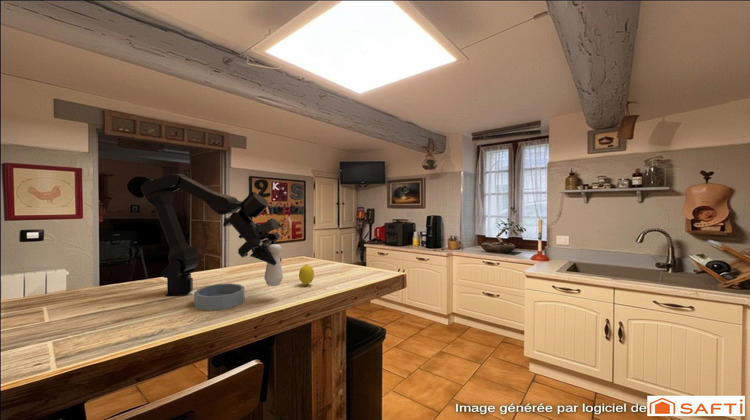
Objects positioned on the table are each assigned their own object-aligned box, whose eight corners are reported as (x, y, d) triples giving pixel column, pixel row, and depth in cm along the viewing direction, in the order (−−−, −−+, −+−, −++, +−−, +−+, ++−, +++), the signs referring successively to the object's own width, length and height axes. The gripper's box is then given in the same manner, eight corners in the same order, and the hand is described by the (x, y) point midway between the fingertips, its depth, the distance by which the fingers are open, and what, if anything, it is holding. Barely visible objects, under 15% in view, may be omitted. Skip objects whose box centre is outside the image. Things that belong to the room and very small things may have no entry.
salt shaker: (263, 282, 104) (264, 243, 103) (281, 281, 106) (282, 242, 106) (265, 287, 99) (265, 246, 98) (283, 286, 101) (284, 245, 100)
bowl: (188, 312, 90) (188, 298, 90) (202, 296, 104) (201, 284, 103) (240, 308, 94) (240, 295, 94) (246, 294, 107) (246, 282, 107)
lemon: (310, 288, 116) (310, 266, 115) (296, 286, 117) (296, 265, 117) (316, 283, 121) (316, 263, 121) (302, 282, 122) (302, 262, 122)
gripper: (248, 212, 92) (283, 251, 92) (275, 209, 111) (305, 242, 110) (222, 237, 94) (257, 276, 93) (253, 230, 112) (282, 262, 112)
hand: (278, 262), depth 102 cm, fingers closed on salt shaker, 3 cm apart
